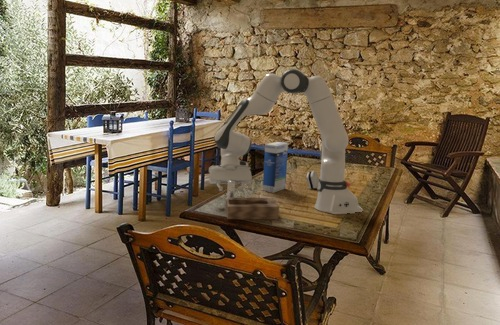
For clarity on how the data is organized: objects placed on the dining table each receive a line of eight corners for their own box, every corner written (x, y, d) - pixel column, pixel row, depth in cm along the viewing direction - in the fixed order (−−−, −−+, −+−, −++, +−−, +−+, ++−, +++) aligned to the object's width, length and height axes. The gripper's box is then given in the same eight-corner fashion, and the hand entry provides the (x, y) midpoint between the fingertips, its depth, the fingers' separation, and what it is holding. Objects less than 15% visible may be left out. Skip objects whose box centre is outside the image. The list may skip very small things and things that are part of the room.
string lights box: (274, 186, 244) (277, 141, 239) (286, 188, 239) (289, 143, 235) (262, 190, 233) (264, 143, 228) (274, 193, 229) (276, 145, 224)
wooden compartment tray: (227, 219, 181) (227, 206, 180) (225, 209, 195) (225, 197, 194) (278, 219, 184) (279, 206, 183) (272, 209, 198) (273, 198, 197)
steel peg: (235, 204, 204) (236, 179, 202) (237, 207, 199) (238, 182, 197) (224, 204, 204) (225, 179, 202) (225, 207, 198) (225, 182, 196)
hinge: (318, 190, 239) (313, 173, 239) (309, 192, 241) (305, 175, 240) (322, 183, 255) (317, 167, 254) (314, 185, 257) (310, 169, 256)
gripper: (208, 162, 204) (209, 186, 196) (251, 162, 207) (253, 187, 199) (208, 169, 209) (208, 193, 202) (249, 170, 212) (251, 194, 204)
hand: (231, 190), depth 200 cm, fingers open, 8 cm apart
